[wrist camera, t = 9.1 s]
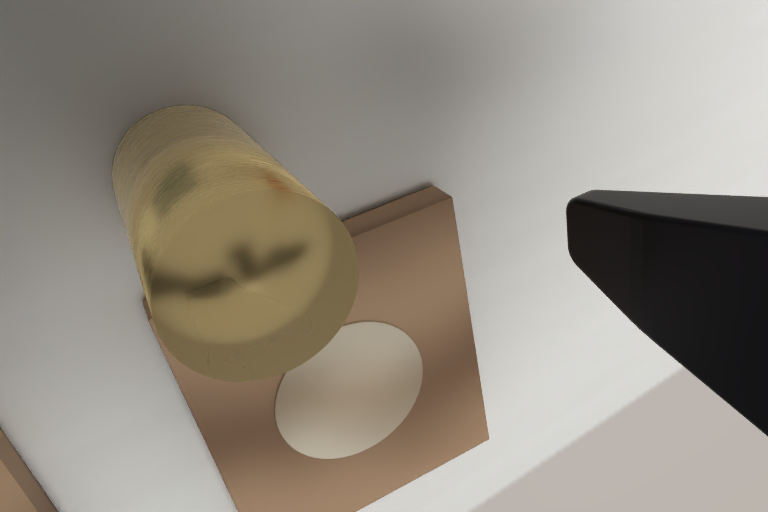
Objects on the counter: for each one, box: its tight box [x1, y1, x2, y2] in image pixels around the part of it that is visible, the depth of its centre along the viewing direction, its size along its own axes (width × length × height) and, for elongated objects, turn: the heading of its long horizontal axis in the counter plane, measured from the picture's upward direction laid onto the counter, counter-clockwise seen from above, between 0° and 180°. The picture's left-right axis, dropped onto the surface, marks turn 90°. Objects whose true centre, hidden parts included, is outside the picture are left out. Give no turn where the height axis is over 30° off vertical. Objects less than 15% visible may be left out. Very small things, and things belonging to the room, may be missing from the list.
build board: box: [143, 186, 489, 512], centre depth 18 cm, size 9×8×1 cm
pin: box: [112, 105, 359, 382], centre depth 12 cm, size 3×3×6 cm
